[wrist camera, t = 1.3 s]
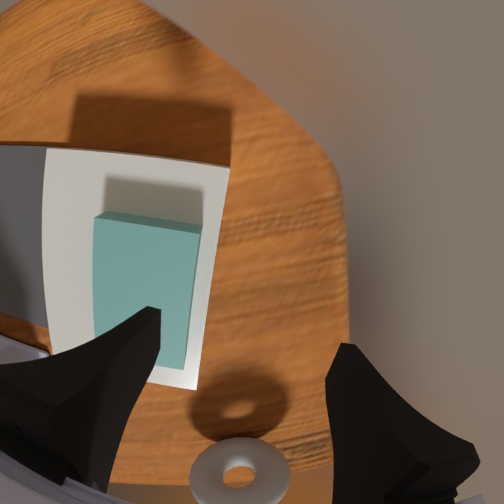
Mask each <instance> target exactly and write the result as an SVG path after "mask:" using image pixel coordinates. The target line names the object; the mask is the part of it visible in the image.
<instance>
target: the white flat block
mask: <svg viewBox="0 0 504 504" xmlns="http://www.w3.org/2000/svg"><path fill="white" fill-rule="evenodd" d="M229 174H230V166H224V165H218V164H212V163H206V162H199V161H192V160H185V159H178V158H171V157H163V156H155V155H147V154H138V153H128V152H119V151H108V150H96V149H83V148H47V152H46V160H45V171H44V183H43V200H42V262H43V279H44V292H45V302H46V311H47V319H48V326H49V333H50V339H51V345H52V351H53V355H55V354H58V353H61V352H64V351H67V350H70V349H72V348H75V347H77V346H80V345H82V344H84V343H86V342H88V341H91V340H93V339H94V338H95V333H94V317H93V289H92V256H93V228H94V217H96V216H98V215H100V214H102V213H104V212H106V211H111V212H118V213H125V214H131V215H138V216H144V217H151V218H158V219H164V220H170V221H177V222H183V223H190V224H196V225H202V226H203V228H202V235H201V242H200V249H199V255H198V263H197V270H196V277H195V285H194V293H193V301H192V309H191V317H190V326H189V335H188V344H187V353H186V359H185V364H184V370H179V369H173V368H167V367H162V366H156V365H154V368H153V370H152V372H151V374H150V376H149V378H148V380H147V382H151V383H156V384H162V385H167V386H173V387H179V388H185V389H192V390H196V389H197V381H198V373H199V365H200V358H201V350H202V343H203V335H204V328H205V321H206V314H207V307H208V300H209V294H210V287H211V281H212V274H213V268H214V261H215V255H216V249H217V243H218V237H219V231H220V225H221V219H222V213H223V207H224V202H225V196H226V190H227V185H228V179H229Z"/></svg>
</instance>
